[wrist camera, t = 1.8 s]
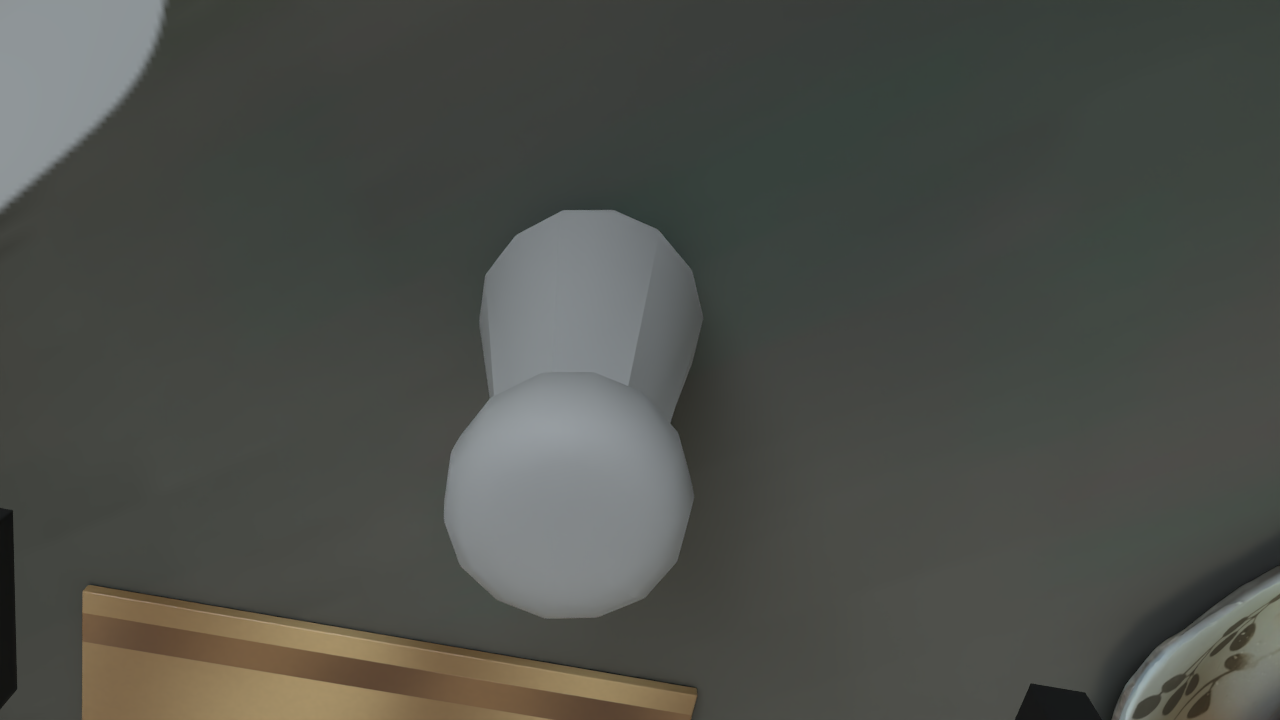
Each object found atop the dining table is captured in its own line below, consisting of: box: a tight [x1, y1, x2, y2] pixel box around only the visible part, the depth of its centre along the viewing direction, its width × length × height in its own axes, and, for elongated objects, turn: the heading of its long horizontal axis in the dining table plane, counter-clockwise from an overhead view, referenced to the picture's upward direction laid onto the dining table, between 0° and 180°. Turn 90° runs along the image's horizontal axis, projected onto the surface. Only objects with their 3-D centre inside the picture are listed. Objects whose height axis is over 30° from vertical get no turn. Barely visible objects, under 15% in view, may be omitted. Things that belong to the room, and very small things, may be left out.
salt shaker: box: [444, 210, 703, 619], centre depth 22 cm, size 6×6×13 cm
